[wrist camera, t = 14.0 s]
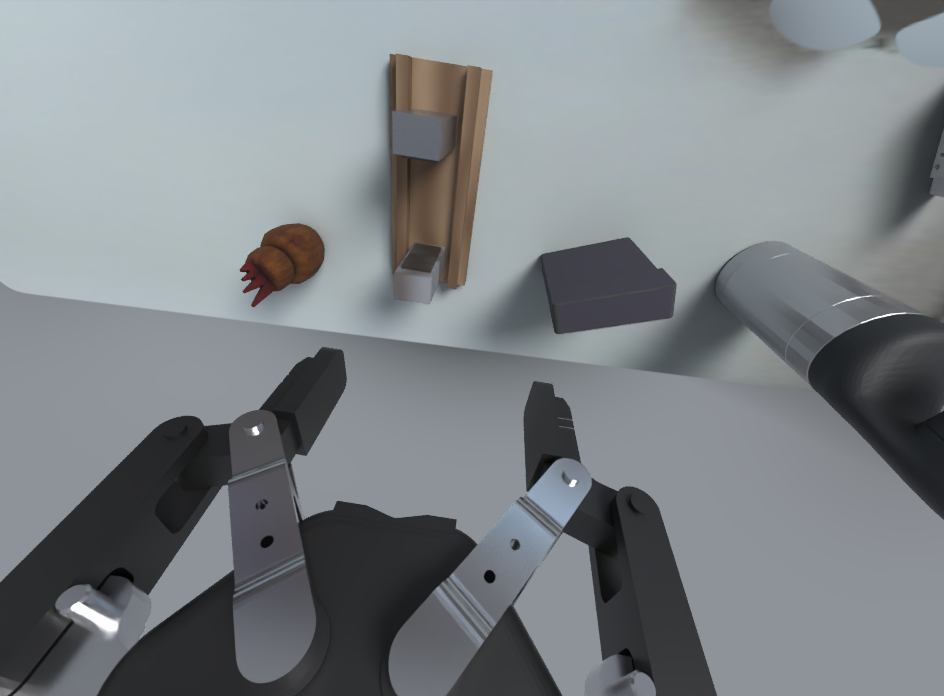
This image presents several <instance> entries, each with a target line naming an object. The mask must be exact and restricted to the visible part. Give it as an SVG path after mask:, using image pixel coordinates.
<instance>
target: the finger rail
mask: <svg viewBox="0 0 944 696" xmlns="http://www.w3.org/2000/svg"><path fill="white" fill-rule="evenodd" d="M492 72H493V71H492V70H486V69H481V67H475V66H469V65H468V67H467V66H461V65H455V64H449V63H443V62H437V61H430V60H424V59H418V58H412V57H410V56H407V55H401V54H396V55H393V54H390V100H391V175H392V250H393V274H394V299H399V300H405V301H412V302H418V303H424V304H430V303H431V300H432V298H433V295H434V293H435V290H436V288H437V285H438V283H439V281H440V282H446V283H448V284H447V288H452V289H456V287H457V284H458V285H465V282H466V275H467V267H468V259H469V252H470V244H471V236H472V228H473V220H474V213H475V205H476V197H477V189H478V181H479V174H480V166H481V158H482V150H483V143H484V135H485V127H486V119H487V111H488V104H489V96H490V88H491V80H492ZM416 109H421V110H427V111H433V112H440V113H446V114H452V115H458V116H457V128H456V140H455V149H454V150H452V151H451V152H450V153H449V154H448V155H447V156H445V157H444V158H443V159H442V160H441V161H439V162H438V163H433V162H427V161H421V160H414V159H408V158H402V155H398V154H393V128H392V111H399V110H416Z"/></svg>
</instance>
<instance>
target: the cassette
mask: <svg viewBox="0 0 944 696" xmlns="http://www.w3.org/2000/svg"><path fill="white" fill-rule="evenodd" d="M930 178H933V182H932V186H931V189H930V192H929V193H930V194H931V195H936V196H940V197H944V129H943V133H942V136H941V140H940V143H939V147H938V150H937V154H936V157H935V161H934V164H933V168H932V171H931V175H930Z"/></svg>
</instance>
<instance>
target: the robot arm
mask: <svg viewBox="0 0 944 696" xmlns="http://www.w3.org/2000/svg"><path fill="white" fill-rule="evenodd" d="M715 289H716V295H717V297H718V299H719V300H720V301H721V302H722V303H723V304H724V305H725V306H726V307H727V308H728V309H729V310H730V311H731V312H732V313H733V314H734V315H735V316H736V317H737V318H738V319H739V320H741V321H742V322H743V323H744V324H745V325H746V326H747V327H748V328H749V329H750V330H751V331H752V332H753V333H754V334H755V335H757V336H758V337H759V338H760V339H761V340H762V341H763V342H764V343H765V344H766V345H767V346H768V347H769V348H770V349H772V350H773V351H774V352H775V353H776V354H777V355H778V356H779V357H780V358H781V359H782V360H783V361H784V362H785V363H786V364H788V365H789V366H790V367H791V368H792V369H793V370H794V371H795V372H796V373H797V374H798V375H800V376H801V377H802V378H803V379H804V380H805V381H806V382H807V383H808V384H809V385H810V386H811V387H812V388H813V389H814V390H815V391H816V392H818V393H819V394H820V395H821V396H822V397H823V398H824V399H825V400H826V401H827V402H828V403H829V404H830V405H831V406H832V407H833V408H834V409H835V410H836V411H837V412H838V413H839V414H840V415H841V416H842V417H843V418H844V419H845V420H846V421H847V422H848V423H849V424H850V425H851V426H852V427H853V428H854V429H855V430H856V431H857V432H858V433H859V434H860V435H861V436H862V437H863V438H864V439H865V440H866V441H867V442H868V443H869V444H870V445H871V446H872V447H873V448H874V450H875V451H876V452H877V453H878V454H879V455H880V456H881V457H882V458H883V459H884V460H885V461H886V462H887V463H888V464H889V465H890V467H891V468H892V469H893V470H894V471H895V472H896V473H897V474H898V475H899V476H900V477H901V478H902V480H903V481H904V482H905V483H906V484H907V485H908V486H909V487H910V488H911V489H912V490H913V491H914V492H915V493H916V494H917V495H918V496H919V497H920V498H921V499H922V500H923V501H924V502H925V503H926V504H927V505H928V506H929V507H930V508H931V509H933V511H934V512H936V513H937V514H938V515H939V516H940V517H941V518H942V519H944V411H943V412H941V413H940V411H941V409H942V407H943V405H944V323H942V322H940V321H938V320H936V319H934V318H932V317H930V316H928V315H926V314H924V313H922V312H920V311H918V310H916V309H914V308H912V307H910V306H908V305H906V304H904V303H902V302H900V301H898V300H896V299H894V298H892V297H890V296H888V295H886V294H884V293H882V292H880V291H878V290H876V289H874V288H872V287H870V286H868V285H866V284H864V283H862V282H860V281H858V280H856V279H854V278H852V277H850V276H848V275H847V274H845V273H843V272H841V271H839V270H837V269H835V268H833V267H831V266H829V265H827V264H825V263H823V262H821V261H819V260H817V259H815V258H813V257H811V256H809V255H807V254H805V253H803V252H801V251H799V250H797V249H795V248H793V247H791V246H789V245H787V244H785V243H781V242H765V243H761V244H757V245H754V246H752V247H749V248H747V249H745V250H744V251H742V252H740V253H739V254H737V255H736V256H735V257H733V258H732V259H731V260H730V261H729V262H728V263H727V264H726V265H725V266H724V268H723V269H722V270H721V272H720V274H719V276H718V278H717V281H716V285H715ZM346 380H347V378H346V369H345V361H344V354H343V351H342V350H340V349H333V348H327V347H322V348H321V349H320V350H319V352H318V353H317V354H316V355H315V357H314V358H311V357H307V358H305V359H304V360H302V361H301V362H299V363H297V364H296V365H295V366H294V368H293V369H292V370H291V371H290V372H289V375H287V376H286V377H285V379H284V380H283V382H282V383H281V384H280V385H279V386H278V387H277V388H276V389H275V391H274V392H273V393H272V394H271V396H270V397H269V398H268V399H267V401H266V402H265V403H264V404H263V405H262V407H261V408H260V409H259V410H255V411H251V412H247V413H245V414H243V415H241V416H240V417H238V418H237V419H236V420H235V421H234V422H233V423H230V424H221V425H212V426H204V425H203V423H202V421H201V420H200V419H199V418H197V417H194V416H181V417H176V418H173V419H170V420H168V421H166V422H164V423H162V424H160V425H159V426H158V427H156V428H155V429H154V430H153V431H152V432H151V433H150V434H149V435H148V436H147V437H146V438H145V439H144V440H143V441H142V442H141V443H140V444H139V445H138V446H137V447H136V448H135V449H134V450H133V451H132V452H131V453H130V454H129V455H128V456H127V457H126V458H125V459H124V460H123V461H122V462H121V463H120V464H119V465H118V466H117V467H116V468H115V469H114V470H113V471H112V472H111V473H110V474H109V475H108V476H107V477H106V478H105V479H104V480H103V481H102V482H101V483H100V484H99V485H98V486H97V487H96V488H95V489H94V490H93V491H92V492H91V493H90V494H89V495H88V496H87V497H86V498H85V499H84V500H83V501H82V502H81V503H80V504H79V505H78V506H77V507H76V508H75V509H74V510H73V511H72V512H71V513H70V514H69V515H68V516H67V517H66V518H65V519H64V520H63V521H62V522H61V523H60V524H59V525H58V526H57V527H56V528H55V529H54V530H53V531H52V532H51V533H49V535H47V537H46V538H44V540H42V542H40V543H39V544H38V545H37V546H36V548H34V549H33V551H32V552H30V553H29V555H27V556H26V558H25V559H24V560H22V561H21V562H20V563H19V564H18V565H17V566H16V567H15V568H14V569H13V570H12V571H11V572H10V573H9V574H8V575H7V576H6V577H5V578H4V579H3V581H1V582H0V696H562V694H561V692H560V690H559V689H558V687H557V685H556V683H555V681H554V679H553V678H552V676H551V674H550V672H549V670H548V668H547V667H546V665H545V663H544V661H543V659H542V658H541V656H540V654H539V652H538V650H537V649H536V647H535V645H534V643H533V641H532V639H531V638H530V636H529V634H528V632H527V630H526V628H525V627H524V625H523V623H522V621H521V619H520V617H519V616H518V614H517V612H516V610H515V609H514V604H515V603H516V601H517V600H518V598H519V597H520V595H521V594H522V592H523V591H524V589H525V588H526V586H527V585H528V583H529V582H530V580H531V579H532V577H533V576H534V574H535V573H536V571H537V570H538V568H539V567H540V565H541V564H542V562H543V561H544V559H545V558H546V556H547V555H548V554H549V552H550V550H551V549H552V547H553V546H554V545H555V543H556V542H557V540H558V539H559V537H560V536H561V534H562V533H563V532H564V533H566V534H568V535H570V536H572V537H574V538H576V539H578V540H580V541H581V542H583V543H585V544H587V545H589V553H590V562H591V570H592V577H593V586H594V594H595V602H596V611H597V618H598V627H599V634H600V643H601V651H602V660H603V661H602V662H601V663H599V664H598V665H596V666H595V667H593V668H592V669H591V671H590V672H589V673H588V675H587V678H586V682H585V696H717V694H716V691H715V688H714V684H713V681H712V678H711V675H710V672H709V668H708V665H707V662H706V659H705V656H704V652H703V649H702V646H701V643H700V639H699V636H698V633H697V629H696V627H695V623H694V620H693V617H692V613H691V610H690V607H689V604H688V600H687V597H686V594H685V591H684V588H683V584H682V581H681V578H680V575H679V571H678V568H677V565H676V562H675V558H674V555H673V552H672V549H671V546H670V542H669V539H668V536H667V533H666V530H665V526H664V523H663V520H662V517H661V513H660V511H659V508H658V506H657V504H656V503H655V501H654V500H653V499H652V498H651V497H650V496H649V495H648V494H647V493H645V492H644V491H642V490H640V489H638V488H635V487H623V488H621V489H620V490H619V491H616V490H614V489H611V488H609V487H607V486H605V485H603V484H601V483H599V482H597V481H595V480H594V479H593V478H591V476H590V474H589V472H588V471H587V469H586V468H585V467H584V466H583V465H582V464H581V461H580V456H579V451H578V446H577V441H576V436H575V431H574V426H573V421H572V416H571V411H570V408H569V406H568V405H567V403H566V402H565V400H564V399H563V398H558V397H555V396H554V389H553V385H552V384H549V383H543V382H537V381H534V382H533V385H532V388H531V391H530V394H529V397H528V400H527V403H526V406H525V411H524V443H525V466H526V489H527V492H528V493H527V494H526V495H525V497H523V498H522V497H520V498H519V499H518V500H517V501H516V502H515V503H514V504H513V505H512V506H511V507H510V508H509V510H508V511H507V512H506V513H505V514H504V515H503V516H502V517H501V519H500V520H499V521H498V522H497V523H496V524H495V525H494V527H493V528H492V529H491V530H490V531H489V533H488V534H487V535H486V536H485V537H484V538H483V539H482V540H481V541H480V543H479V544H478V545H477V544H476V542H474V540H472V539H471V538H470V537H469V536H468V535H466V534H465V533H463V532H462V531H460V530H457V529H455V528H456V519H449V518H443V517H437V516H430V515H423V516H413V517H404V518H393V517H390V516H388V515H386V514H384V513H382V512H380V511H378V510H375V509H373V508H371V507H369V506H367V505H361V504H354V503H348V502H342V501H337V502H336V505H335V507H334V509H333V510H330V511H325V512H321V513H318V514H315V515H313V516H311V517H308V518H306V519H305V518H304V515H303V511H302V508H301V504H300V500H299V495H298V491H297V486H296V482H295V478H294V473H293V469H292V465H291V461H292V459H293V458H294V456H295V454H300V455H305V456H306V455H307V454H308V452H309V450H310V449H311V447H312V445H313V443H314V442H315V440H316V438H317V436H318V435H319V433H320V431H321V430H322V428H323V426H324V425H325V423H326V421H327V419H328V418H329V416H330V414H331V412H332V410H333V409H334V407H335V406H336V404H337V402H338V400H339V399H340V397H341V395H342V393H343V391H344V389H345V386H346ZM223 485H228V492H229V508H230V522H231V536H232V550H233V564H234V570H233V571H231V572H230V573H229V574H227V575H226V576H225V577H223V578H222V579H220V580H219V581H218V582H216V583H215V584H214V585H212V586H211V587H209V588H208V589H207V590H206V591H204V592H203V593H201V594H200V595H199V596H197V597H196V598H195V599H193V600H192V601H190V602H189V603H188V604H186V605H185V606H183V607H182V608H181V609H179V610H178V611H177V612H175V613H174V614H172V615H171V616H170V617H168V618H167V619H166V620H164V621H163V622H161V623H160V624H159V625H157V626H156V627H155V628H153V629H152V630H151V631H149V632H148V633H147V634H146V635H144V636H143V637H142V638H141V639H140V640H139V638H140V636H141V634H142V633H143V631H144V628H145V623H146V621H147V619H148V617H149V614H150V611H151V600H150V598H149V596H148V595H149V593H150V592H151V590H152V589H153V587H154V586H155V584H156V583H157V581H158V580H159V579H160V577H161V576H162V574H163V573H164V571H165V569H166V568H167V567H168V565H169V564H170V562H171V561H172V559H173V558H174V556H175V555H176V553H177V552H178V551H179V549H180V548H181V546H182V545H183V543H184V542H185V540H186V539H187V537H188V536H189V534H190V533H191V531H192V530H193V529H194V527H195V526H196V524H197V523H198V521H199V519H200V518H201V517H202V515H203V514H204V512H205V511H206V509H207V508H208V506H209V505H210V504H211V502H212V501H213V499H214V498H215V496H216V495H217V493H218V492H219V490H220V489H221V487H222V486H223Z"/></svg>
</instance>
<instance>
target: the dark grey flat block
mask: <svg viewBox="0 0 944 696" xmlns="http://www.w3.org/2000/svg"><path fill="white" fill-rule="evenodd" d="M541 261H542V269H543V276H544V281H545V286H546V291H547V296H548V301H549V306H550V311H551V317H552V322H553V327H554V331H555V333H556V334H569V333H576V332H583V331H590V330H597V329H603V328H610V327H617V326H624V325H631V324H638V323H645V322H652V321H659V320H664V319H668V318H671V317H672V316H673V311H674V302H675V294H676V282H675V281H674V280H673V279H672V278H671V277H670V276H669V275H668V274H667V273H666V272H665V270H664V269H663V268H660V269H657V268H656V267H655V266H654V265H653V263H652V262H651V261H650V260H649V259H648V258H647V257H646V256H645V254H644V253H643V252H642V251H641V250H640V249H639V248H638V247H637V246H636V244H635V243H634V242H633V241H632V240H631V239H630V238H622V239H617V240H612V241H607V242H602V243H596V244H591V245H586V246H581V247H576V248H571V249H566V250H561V251H556V252H551V253H545V254H542V255H541Z"/></svg>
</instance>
